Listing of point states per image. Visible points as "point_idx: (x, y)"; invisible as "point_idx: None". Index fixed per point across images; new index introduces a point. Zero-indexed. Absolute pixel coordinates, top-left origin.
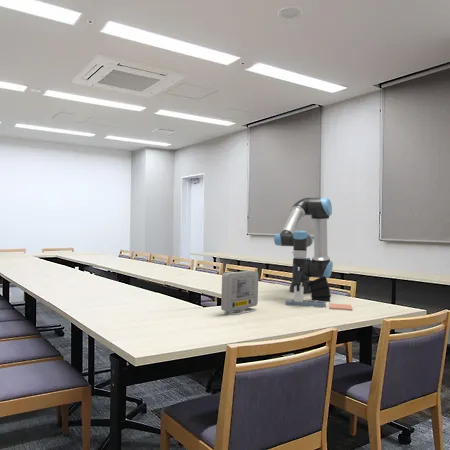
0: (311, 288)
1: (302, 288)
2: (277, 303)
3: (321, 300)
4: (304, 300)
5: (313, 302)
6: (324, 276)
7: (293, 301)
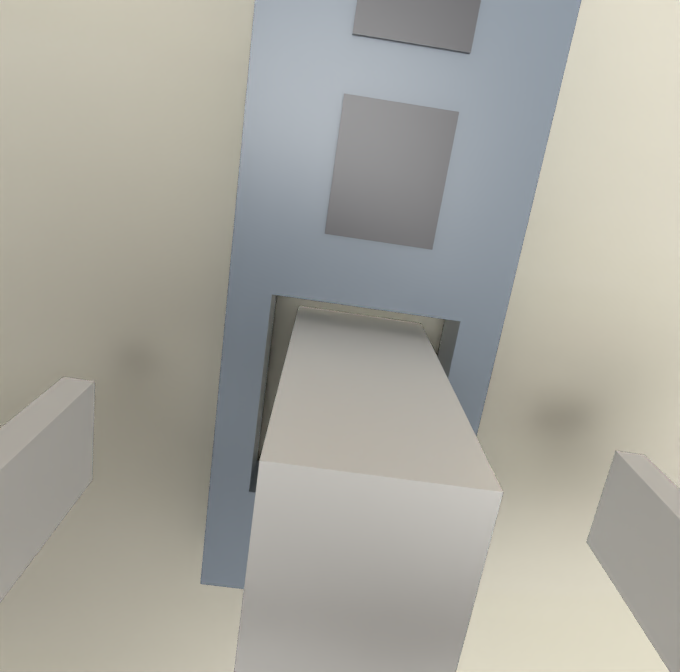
0: None
1: (492, 497)
2: None
3: None
4: (250, 295)
5: (457, 130)
6: None
7: (252, 470)
